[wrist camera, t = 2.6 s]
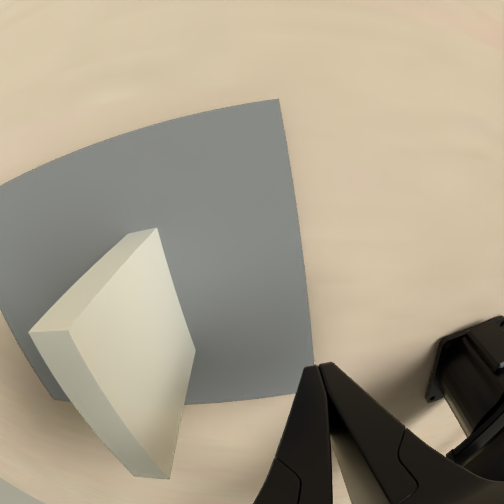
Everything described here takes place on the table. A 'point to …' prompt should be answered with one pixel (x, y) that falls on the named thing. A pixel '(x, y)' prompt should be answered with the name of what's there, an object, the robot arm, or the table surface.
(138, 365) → the tile
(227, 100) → the table surface
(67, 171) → the mat
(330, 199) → the table surface
